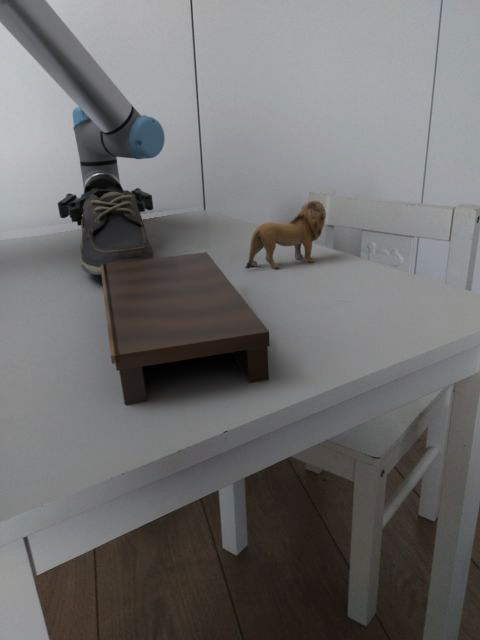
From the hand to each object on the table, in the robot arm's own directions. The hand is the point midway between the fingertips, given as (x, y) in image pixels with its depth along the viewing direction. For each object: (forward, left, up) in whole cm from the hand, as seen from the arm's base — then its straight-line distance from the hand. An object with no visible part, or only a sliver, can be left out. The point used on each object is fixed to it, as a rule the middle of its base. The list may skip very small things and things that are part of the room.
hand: (108, 214), depth 93 cm
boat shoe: (+4, 0, -7) cm, 8 cm away
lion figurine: (+13, +26, -8) cm, 30 cm away
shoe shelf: (+35, +5, -8) cm, 37 cm away
